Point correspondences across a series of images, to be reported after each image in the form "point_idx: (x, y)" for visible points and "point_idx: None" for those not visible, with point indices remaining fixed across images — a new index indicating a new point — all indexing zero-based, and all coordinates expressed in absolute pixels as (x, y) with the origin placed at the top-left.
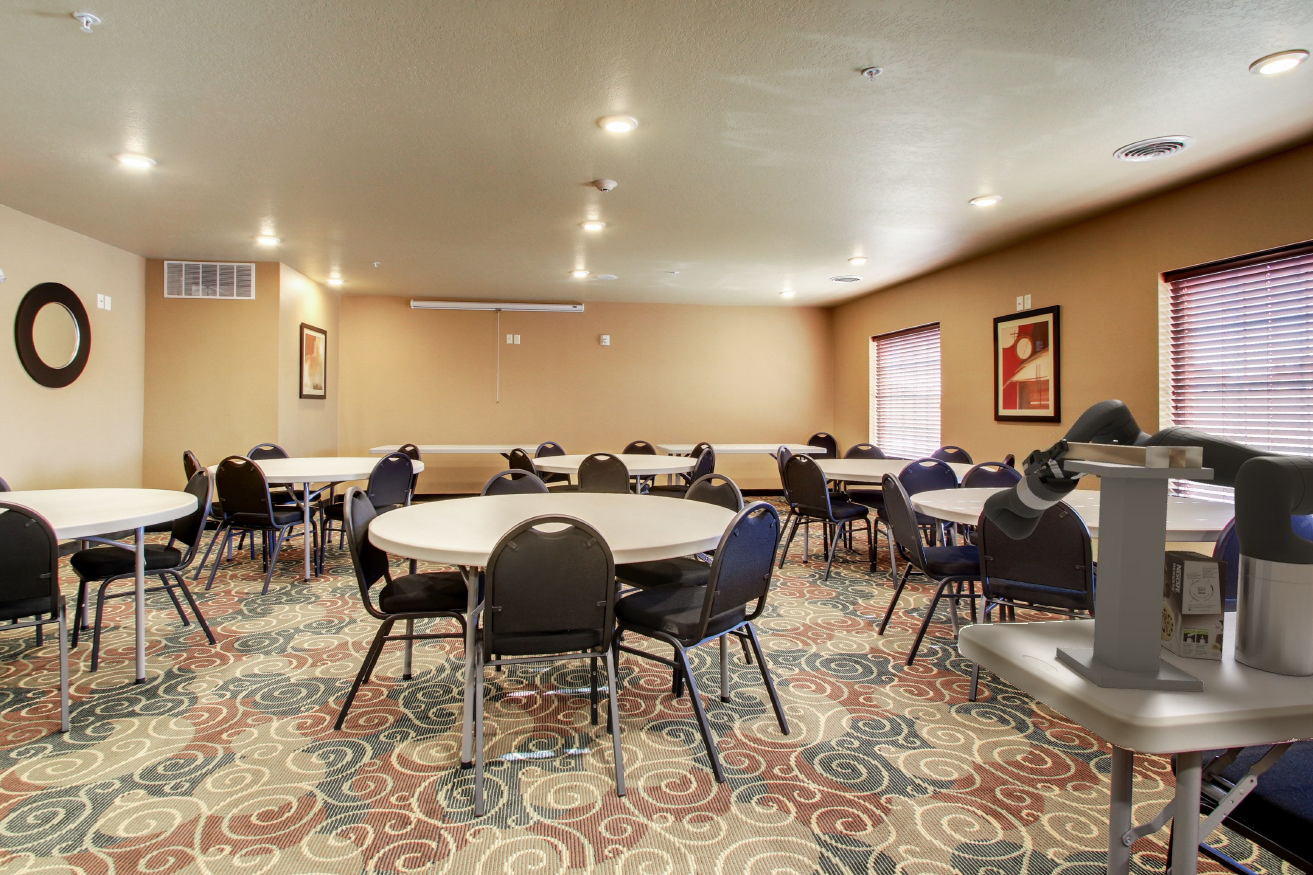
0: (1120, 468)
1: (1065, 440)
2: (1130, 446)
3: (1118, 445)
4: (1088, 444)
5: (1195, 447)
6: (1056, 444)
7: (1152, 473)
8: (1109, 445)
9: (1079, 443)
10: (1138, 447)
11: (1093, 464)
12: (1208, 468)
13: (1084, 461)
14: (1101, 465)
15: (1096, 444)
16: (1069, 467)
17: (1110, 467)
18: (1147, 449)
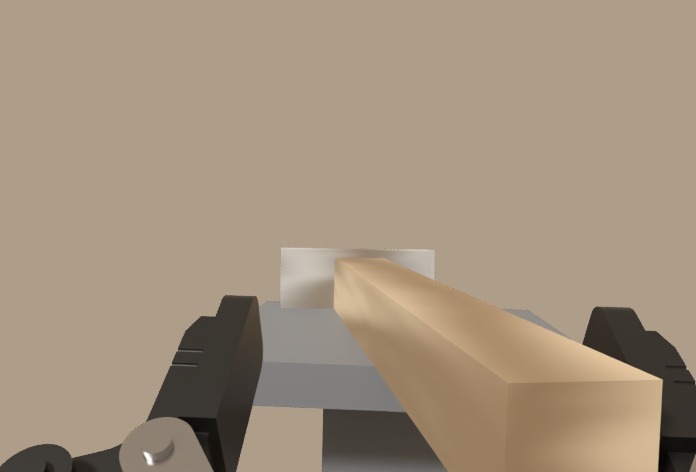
0: None
1: (601, 310)
2: (378, 275)
3: (380, 286)
4: (487, 304)
5: (303, 248)
6: (664, 350)
7: None
8: (430, 285)
9: (507, 321)
10: (395, 268)
11: (549, 325)
12: (268, 303)
13: None
14: (535, 318)
15: (447, 299)
16: None
17: (526, 311)
18: (434, 258)
